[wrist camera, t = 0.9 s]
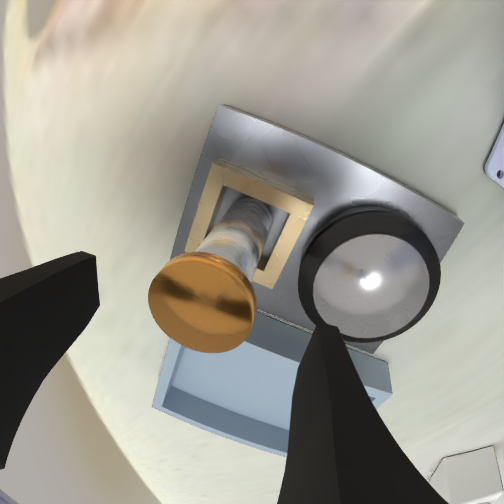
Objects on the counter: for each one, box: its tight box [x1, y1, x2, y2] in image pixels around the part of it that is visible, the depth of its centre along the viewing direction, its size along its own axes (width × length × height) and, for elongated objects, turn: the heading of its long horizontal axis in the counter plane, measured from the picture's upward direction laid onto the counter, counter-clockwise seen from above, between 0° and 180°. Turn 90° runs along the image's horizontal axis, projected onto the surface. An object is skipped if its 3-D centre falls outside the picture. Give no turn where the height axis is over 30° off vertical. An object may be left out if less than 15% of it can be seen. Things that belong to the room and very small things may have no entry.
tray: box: [152, 312, 392, 457], centre depth 22 cm, size 15×12×3 cm
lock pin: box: [148, 198, 272, 353], centre depth 13 cm, size 3×3×8 cm
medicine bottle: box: [429, 446, 503, 504], centre depth 21 cm, size 7×7×12 cm
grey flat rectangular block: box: [170, 105, 464, 354], centre depth 17 cm, size 14×10×3 cm
